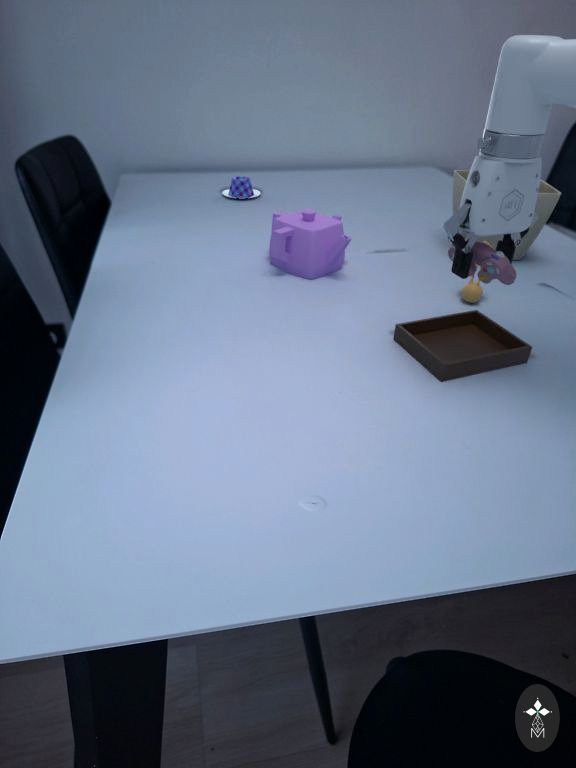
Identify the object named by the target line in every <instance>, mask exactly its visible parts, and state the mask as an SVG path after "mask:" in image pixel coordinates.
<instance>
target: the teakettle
mask: <svg viewBox="0 0 576 768" xmlns="http://www.w3.org/2000/svg"><path fill="white" fill-rule="evenodd" d="M342 219H343V217H342V216H340V215H332V216H331V217H330V216H328V215H325V214H321V213H318V212H317V211H316V210H315V209H311V208H307V209H306V208H304V209H302V210H299V211H294V212H290V213H286V212H282V211H277V212H274V213H272V221H271V234H270V240H269V248H268V252H269V253H268V256H269V260H270V263H271V265H273V266H274V267H276V268H278V269H280V270H282V271H284V272H285V273H286V272H287V273H289V274H292V275H293V276H297V277H301V278H303V279H307V280H315V279H318V278H321V277H325V276H326V275H329V274H331V273H334V272H336V271H338V270H340V269H342V268H343V265H344V262H345V257H346V249H347V247H348V246H349V244H350V243H351V241H352V237H350V236H349V235H347V234H345V231H344V225H343V222H342Z"/></svg>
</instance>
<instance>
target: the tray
mask: <svg viewBox="0 0 576 768" xmlns="http://www.w3.org/2000/svg"><path fill="white" fill-rule="evenodd" d="M393 341H395V342H396V343H397V344H398V345H399V346H400V347H401V348H402V349H404V351H406V352H407V353H408V354H409V355H411V357H412V358H414V359H415V360H416V361H417V362H418V363H419V364H420V365H421V366H423V367H424V368H425V369H426V370H427V371H428V372H430V373H431V375H432V376H434V377H435V378H436V379H437V380H438V381H440V382H445V381H451V380H455V379H459V378H464V377H467V376H472V375H473V376H474V375H477V374H481V373H486V372H491V371H495V370H499V369H504V368H509V367H514V366H517V365H523V364H526V363H528V361H529V359H530V355H531V352H532V350H533V346H532V345H530V344H529V343H528V342H526V341H524V340H523V339H521V338H520V337H519V336H517V335H515V334H514V333H512V332H511V331H510V330H508V329H506V328H505V327H503V326H502V325H500V324H499V323H498V322H496V321H494V320H493V319H492V318H490V317H488V316H487V315H486V314H484V313H482V312H481V311H479V310H478V309H474V310H469V311H468V310H467V311H462V312H457V313H451V314H445V315H439V316H434V317H428V318H422V319H417V320H411V321H405V322H399V323H396V324H395V327H394V333H393Z"/></svg>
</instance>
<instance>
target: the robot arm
mask: <svg viewBox="0 0 576 768" xmlns="http://www.w3.org/2000/svg"><path fill="white" fill-rule="evenodd" d="M497 63H498V64H497V69H496V72H495V77H494V82H493V87H492V91H491V96H490V101H489V105H488V111H487V115H486V120H485V125H484V129H483V134H482V137H480V138H478V139H477V141H476V148H477V149H478V150H479V153H478V155H475V157H474V159H473V162H472V164H471V167H470V169H469V170H470V172H469V175H468V178H467V181H466V184H465V188H464V191H463V195H462V199H461V203H460V207H459V210H458V211H457V212H456V213H455V214H454V215H453V214H452V216H450V218H448V219H447V220H446V221H445V222H444V223H443V225H442V227H443V230H444V231H445V233H446V235H447V237H448V239H449V241H450V242H451V244H452V246H453V247H455V248H456V250H455V255H454V259H453V262H452V263H451V273H452V274H454V275H455V276H457V277H459V278H460V279H462V280H467V279H468V278H469V277H468V275H469V270H470V266H471V262H472V257H473V253H472V252H470V250H471V249H472V247H473V246H474V244H475V242H476V241H477V239H478V238H479V237H487V236H496V235H501V236H502V240H503V241H502V240H499V241H498V243H497V247H496V251H501V252H503V253H504V255H505V256H506V257H507V258H508V259H509V261H510V263H511V264H512V263H513V260H512V259H513V256H514V252H515V249H516V247H515V246H519V245H520V243H521V239H522V238H523V237H524V236H525V235H526V234H527V233H528V231H529V228H531V226H532V225H533V224H534V223H535V222H536V221H537V219H538V217H539V216H538V214H537V213H536V211H535V206H536V201H537V196H538V191H539V186H540V179H541V180H542V168H543V167H542V166H543V161H542V160H543V158H542V157H540V152H541V149H542V145H543V142H544V138H545V133H546V130H547V126H548V123H549V119H550V116H551V111H552V108H553V105H559V106H562V107H563V106H564V107H568V108H572V109H576V38H573V39H572V38H571V39H569V38H568V39H564V38H562V37H561V36H557V35H545V34H544V35H543V34H517V35H513V36H510V37H509V38H506V40H505V42H504V43H503V45H502V47H501V50H500V54H499V57H498V62H497ZM458 227H460V228H461V230H460V232H459V230H458ZM468 233H470V236H469V237H468V239H467V241H465V238H466V236H467V235H468Z"/></svg>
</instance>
